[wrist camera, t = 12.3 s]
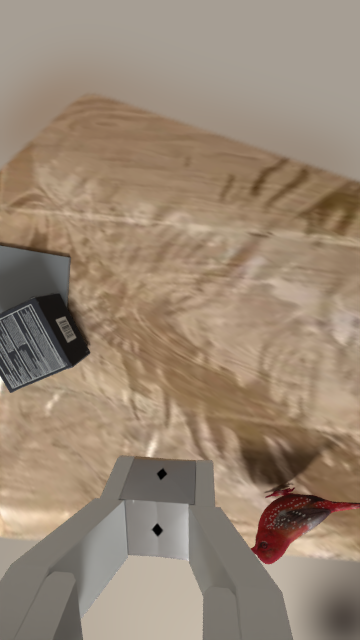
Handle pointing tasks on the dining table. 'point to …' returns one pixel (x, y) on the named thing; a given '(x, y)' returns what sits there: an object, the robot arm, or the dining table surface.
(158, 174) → the dining table surface
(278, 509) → the decorative bird figurine
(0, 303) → the slate tile
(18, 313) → the small box
